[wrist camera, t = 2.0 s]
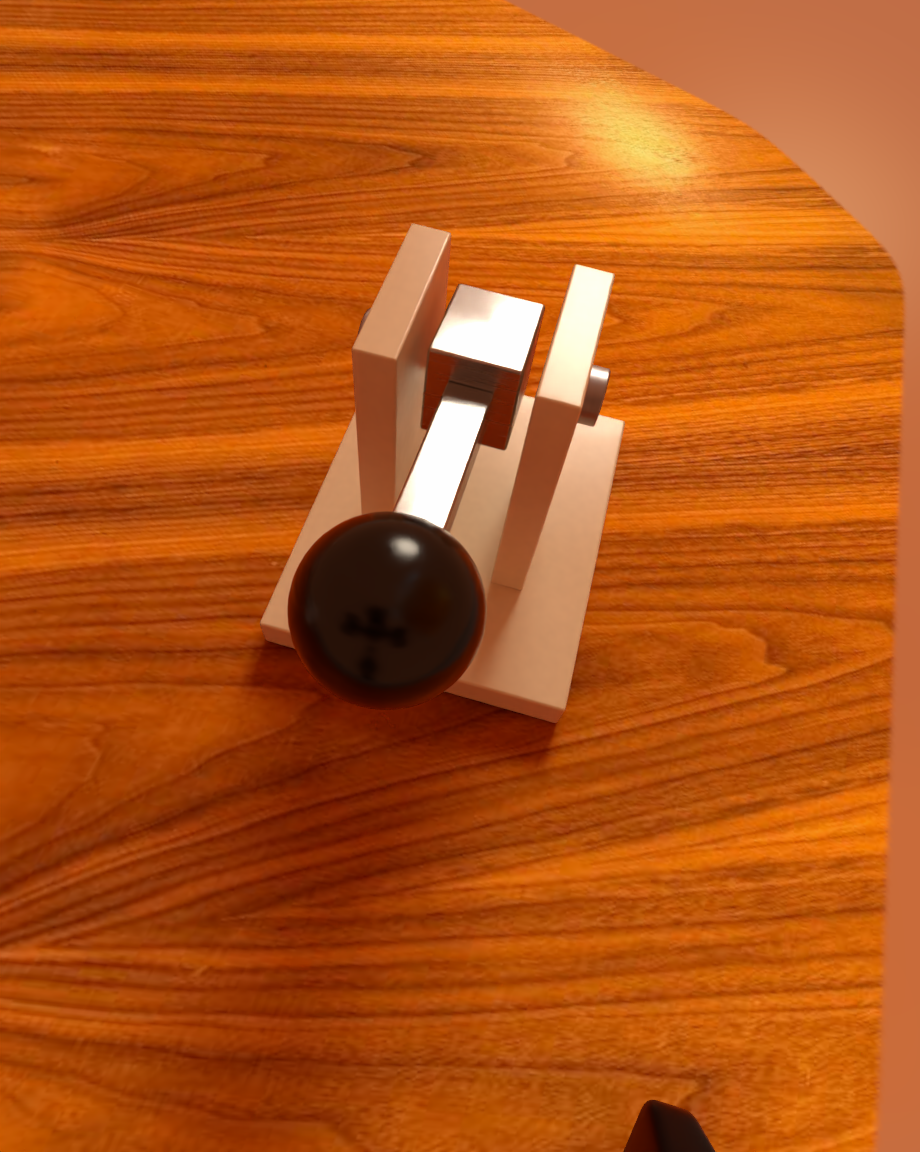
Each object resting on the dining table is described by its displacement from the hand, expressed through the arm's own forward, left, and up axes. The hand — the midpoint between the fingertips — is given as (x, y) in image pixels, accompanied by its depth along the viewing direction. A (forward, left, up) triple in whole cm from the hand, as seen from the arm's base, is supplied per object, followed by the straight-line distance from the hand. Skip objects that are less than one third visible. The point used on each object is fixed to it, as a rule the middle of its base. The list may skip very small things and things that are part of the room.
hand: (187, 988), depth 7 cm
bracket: (+12, -7, -12) cm, 19 cm away
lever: (+8, -5, -6) cm, 11 cm away
